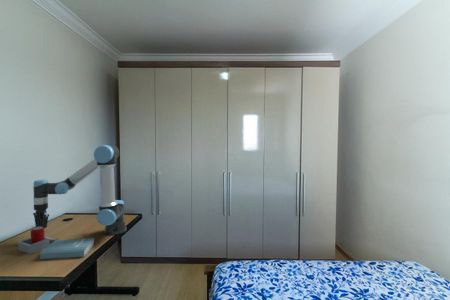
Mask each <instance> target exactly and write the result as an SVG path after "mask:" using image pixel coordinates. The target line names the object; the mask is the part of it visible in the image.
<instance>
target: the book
mask: <svg viewBox="0 0 450 300" xmlns="http://www.w3.org/2000/svg"><path fill="white" fill-rule="evenodd" d="M94 241H95V238H94V237H93V238H92V237H89V238H88V237H87V238H70V239H58V240H55V241H54V242H52V243H51V244H50V245H49V246H47V247H46V248H44V249H42V250H40V254H39V255H40V256H39V259H40V260H52V259H53V260H54V259H71V258H84V257H86V255H87V254H88V253H89V252H90V251H91V249H93V247H94V246H95V244H94Z"/></svg>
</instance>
